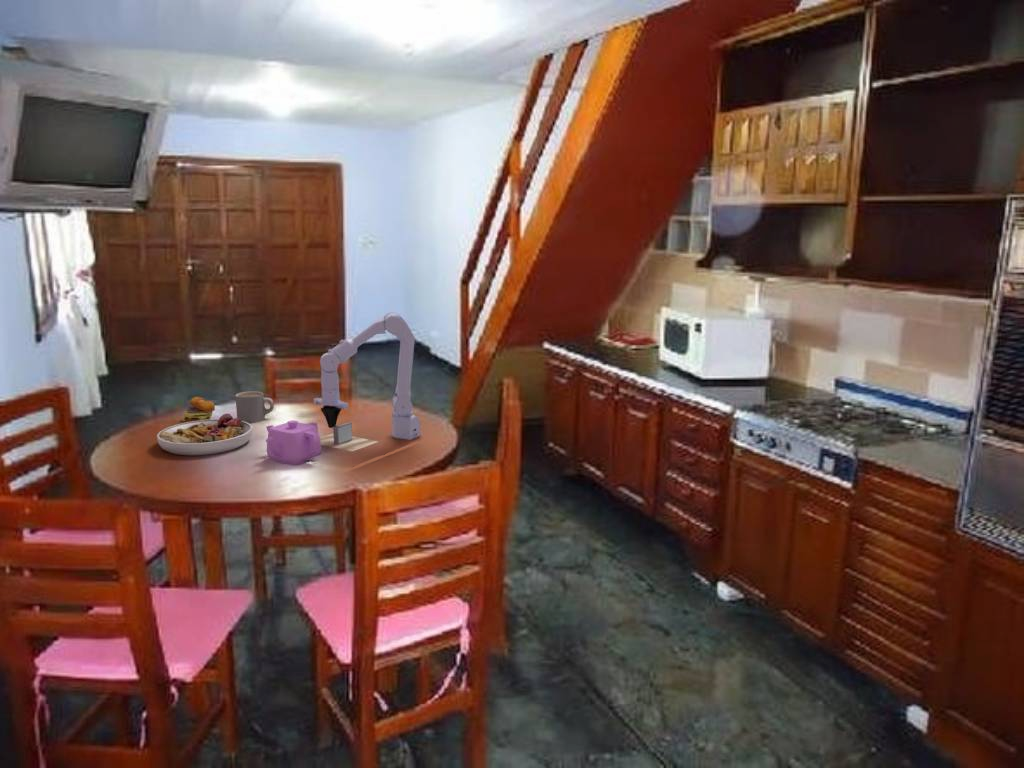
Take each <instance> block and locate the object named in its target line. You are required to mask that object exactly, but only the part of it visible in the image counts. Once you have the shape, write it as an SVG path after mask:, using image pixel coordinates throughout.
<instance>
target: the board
mask: <svg viewBox="0 0 1024 768" xmlns="http://www.w3.org/2000/svg"><path fill="white" fill-rule="evenodd" d="M320 442H321V446H324V447H329V448H333V449H338V450H343V451H348V452H351V453H352V452H355V451H358V450H360V449H364V448H366V447H369V446H371V445H373V444H376V443H378V441H377V440H372V439H367V438H364V437H363V438H362V437H357V436H353V435H352V440H350V441H347V442H344V443H342V444H339V445H337V444H334V433H331V434H328V435H324V436H321V437H320Z"/></svg>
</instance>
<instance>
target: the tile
mask: <svg viewBox="0 0 1024 768" xmlns="http://www.w3.org/2000/svg"><path fill="white" fill-rule="evenodd" d="M332 429H333V430H332V431H333V433H334V444H337V445H339V444H342V443H344V442H347V441H350V440H352V436H353V423H352V422H349V421H347V422H344V423H341V424H338V425H337V424H336V426H334V427H333V428H332ZM333 433H332V434H333Z"/></svg>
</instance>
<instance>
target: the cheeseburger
mask: <svg viewBox="0 0 1024 768" xmlns="http://www.w3.org/2000/svg"><path fill="white" fill-rule="evenodd" d="M188 404H190V405H191V406H189V408H186V409H185V410H184V413H183V416H182V419H181V420H182V421H183V423H186V422H192V421H199V420H210V419H212V416H213V412H214V411H215V409H216V408H215V407H216V406H215V403H214V402H213V401H210V400H205V399H204V398H203V397H199V396H195V397H192V398H191V399H190V400H189V401H188Z"/></svg>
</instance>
